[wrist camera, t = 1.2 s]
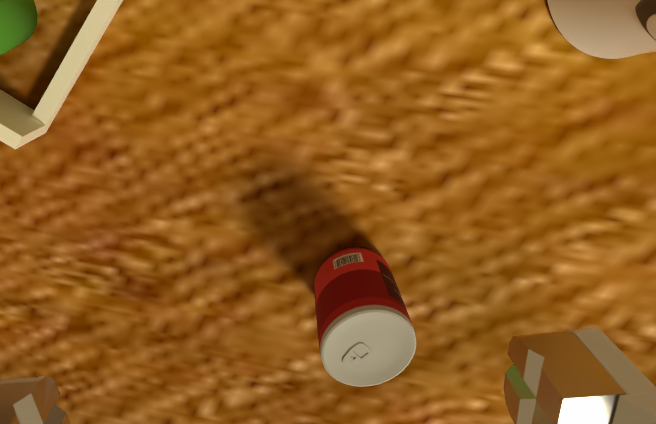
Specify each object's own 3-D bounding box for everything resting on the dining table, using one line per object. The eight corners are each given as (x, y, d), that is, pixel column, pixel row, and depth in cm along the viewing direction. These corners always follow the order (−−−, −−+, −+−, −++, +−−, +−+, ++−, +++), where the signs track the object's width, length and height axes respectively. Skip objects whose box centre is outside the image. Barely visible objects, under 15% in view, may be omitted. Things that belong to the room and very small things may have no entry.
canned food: (298, 290, 49) (301, 364, 39) (344, 230, 47) (360, 292, 37) (358, 323, 51) (376, 401, 41) (405, 267, 49) (436, 336, 39)
